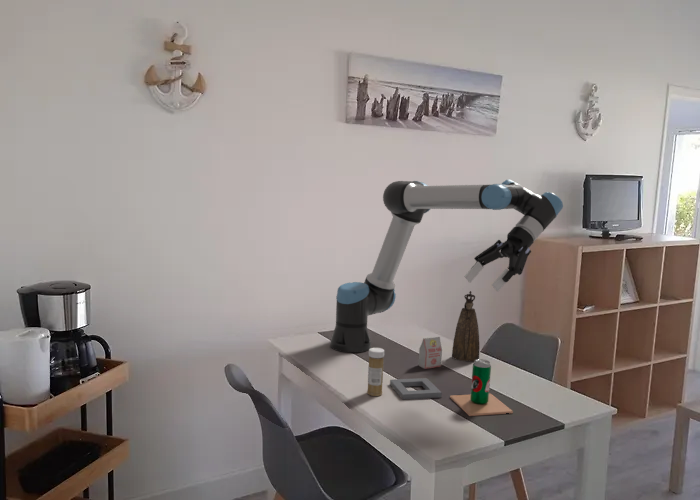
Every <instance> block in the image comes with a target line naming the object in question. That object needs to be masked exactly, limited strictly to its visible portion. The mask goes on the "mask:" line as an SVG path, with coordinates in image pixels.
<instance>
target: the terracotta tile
mask: <svg viewBox="0 0 700 500" xmlns="http://www.w3.org/2000/svg"><path fill="white" fill-rule="evenodd" d="M470 396H471V394H457V395H454V394H452V395H449V398H450V399H451V401H453V403H455V404H456V405H457V406H458V407H459V408H460V409H461V410H463V412H465V413H466V415H468V416H469V417H474V416H475V417H478V416H490V415H491V416H492V415H493V416H494V415H506V413H509V414H513V412H514V411H513V409H511V408H510V407H508V406H507V405H506V404H505V403H503V402H502V401H501V400H499V398H497V397H496V396H494V395H493V394H492V393H490V392H489V399H488V402H487V403H486V404H484V405H479V404H475V403H473V402H472V401H471V399H470Z"/></svg>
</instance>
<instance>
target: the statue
mask: <svg viewBox="0 0 700 500" xmlns="http://www.w3.org/2000/svg"><path fill="white" fill-rule="evenodd" d="M463 297H464V299H465V303H464V307H462V308H461V311H460V314H459V317H458V319H457V323H456V327H455V332H454V338H453V342H452V343H453V345H452V350H451V351H452V352H451V357H452V358H453V359H454V360H457V361H463V362H464V361H465V362H475V360H476V359H480V333H479V323H478V318H477V313H476V309H475V308H473V306H474V301H475V300H476V295H474V294H472V291H471V290H469V292H468V293H467V294H464V296H463Z"/></svg>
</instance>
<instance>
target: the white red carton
mask: <svg viewBox="0 0 700 500" xmlns="http://www.w3.org/2000/svg"><path fill="white" fill-rule="evenodd" d="M421 341H422V342H421V344H420V347H419V348H418V350H419V351H418V352H419V353H418V366H419V367H421V368H422V369H424V370H426V369H432V368H433V369H435V368H441V367H442V358H443V356H442V355H443V349H442V348H443V347H442V344H441V343H442V342H441V336H433V337H432V336H431V337H426V338H422V340H421Z"/></svg>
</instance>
